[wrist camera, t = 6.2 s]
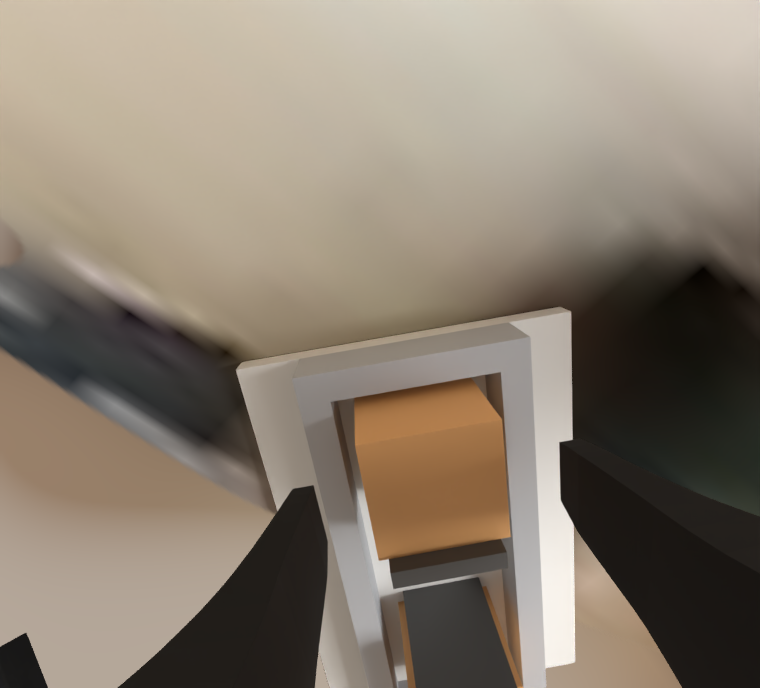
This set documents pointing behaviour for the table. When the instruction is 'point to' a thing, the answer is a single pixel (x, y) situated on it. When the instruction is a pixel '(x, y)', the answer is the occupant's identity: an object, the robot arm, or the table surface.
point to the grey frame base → (352, 521)
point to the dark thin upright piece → (20, 665)
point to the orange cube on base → (434, 480)
